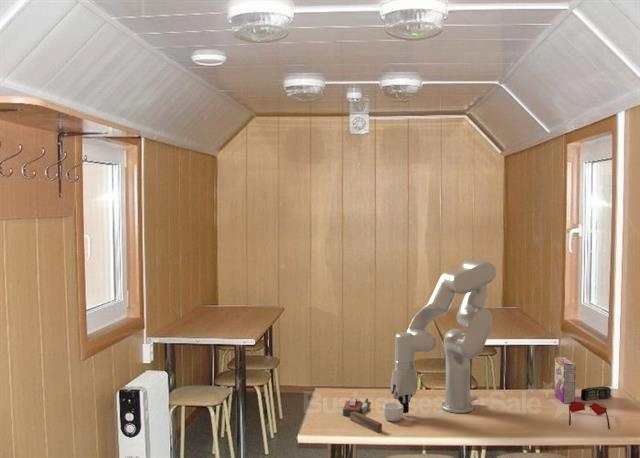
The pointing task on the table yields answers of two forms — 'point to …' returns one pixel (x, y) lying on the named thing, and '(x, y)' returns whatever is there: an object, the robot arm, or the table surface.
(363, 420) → the stop bar
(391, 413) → the teacup
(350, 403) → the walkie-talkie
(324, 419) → the table surface
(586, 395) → the mobile phone
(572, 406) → the glasses
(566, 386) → the candy bar box
